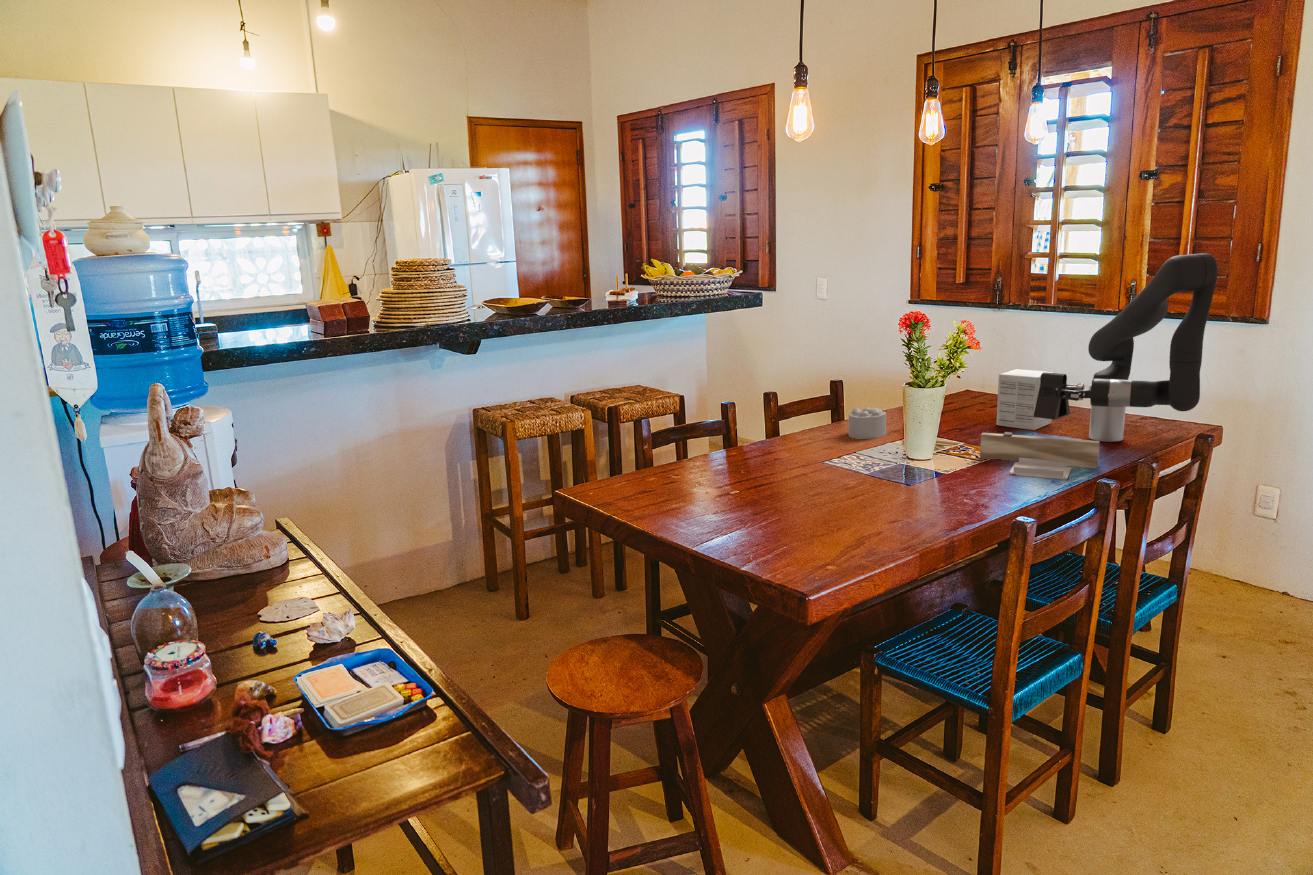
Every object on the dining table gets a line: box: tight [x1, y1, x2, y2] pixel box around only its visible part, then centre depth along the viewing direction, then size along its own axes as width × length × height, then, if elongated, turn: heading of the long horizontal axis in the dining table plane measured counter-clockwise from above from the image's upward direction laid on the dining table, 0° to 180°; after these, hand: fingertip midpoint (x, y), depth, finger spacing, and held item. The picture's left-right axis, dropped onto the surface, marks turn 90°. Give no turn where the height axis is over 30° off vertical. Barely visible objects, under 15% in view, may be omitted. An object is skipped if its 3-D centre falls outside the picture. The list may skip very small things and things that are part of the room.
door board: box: [979, 431, 1101, 469], centre depth 230 cm, size 3×30×8 cm, turn 59°
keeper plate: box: [1008, 458, 1072, 481], centre depth 222 cm, size 11×14×2 cm
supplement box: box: [995, 368, 1055, 431], centre depth 274 cm, size 13×13×18 cm
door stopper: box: [1034, 372, 1071, 421], centre depth 229 cm, size 9×6×12 cm, turn 129°
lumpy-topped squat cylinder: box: [848, 406, 887, 440], centre depth 271 cm, size 10×13×9 cm
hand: (1041, 390), depth 231 cm, fingers closed on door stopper, 3 cm apart
